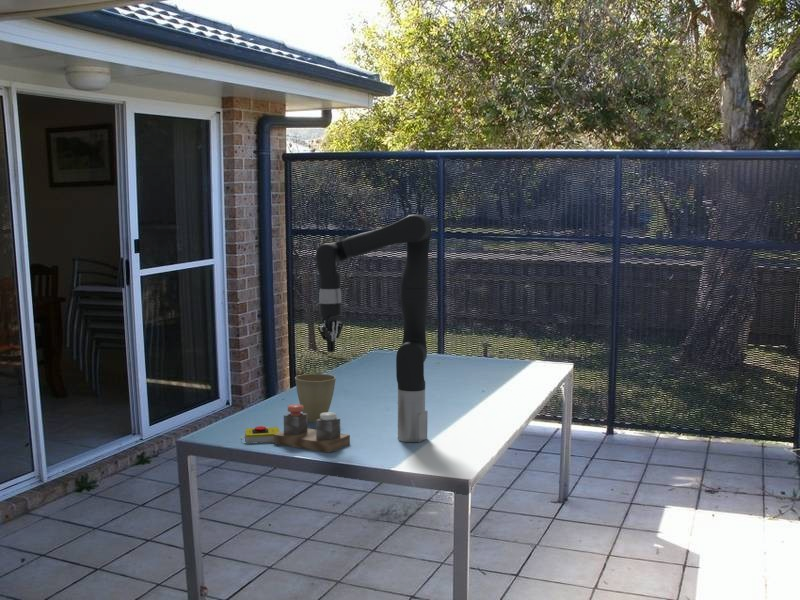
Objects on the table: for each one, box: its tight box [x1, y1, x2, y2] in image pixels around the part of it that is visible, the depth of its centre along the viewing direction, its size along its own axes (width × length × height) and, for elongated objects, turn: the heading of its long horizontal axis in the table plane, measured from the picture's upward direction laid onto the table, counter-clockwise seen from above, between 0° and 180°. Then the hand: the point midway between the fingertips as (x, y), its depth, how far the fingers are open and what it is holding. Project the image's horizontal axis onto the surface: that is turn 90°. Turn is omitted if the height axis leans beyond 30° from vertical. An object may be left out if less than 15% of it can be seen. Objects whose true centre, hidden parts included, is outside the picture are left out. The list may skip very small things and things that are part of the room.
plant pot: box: [294, 373, 337, 423], centre depth 297 cm, size 15×15×16 cm
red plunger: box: [287, 403, 303, 416], centre depth 269 cm, size 5×5×7 cm
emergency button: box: [240, 425, 280, 444], centre depth 272 cm, size 9×4×15 cm
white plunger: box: [320, 411, 337, 421], centre depth 262 cm, size 5×5×7 cm
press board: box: [273, 412, 351, 453], centre depth 266 cm, size 22×12×9 cm, turn 61°
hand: (331, 351), depth 278 cm, fingers closed
